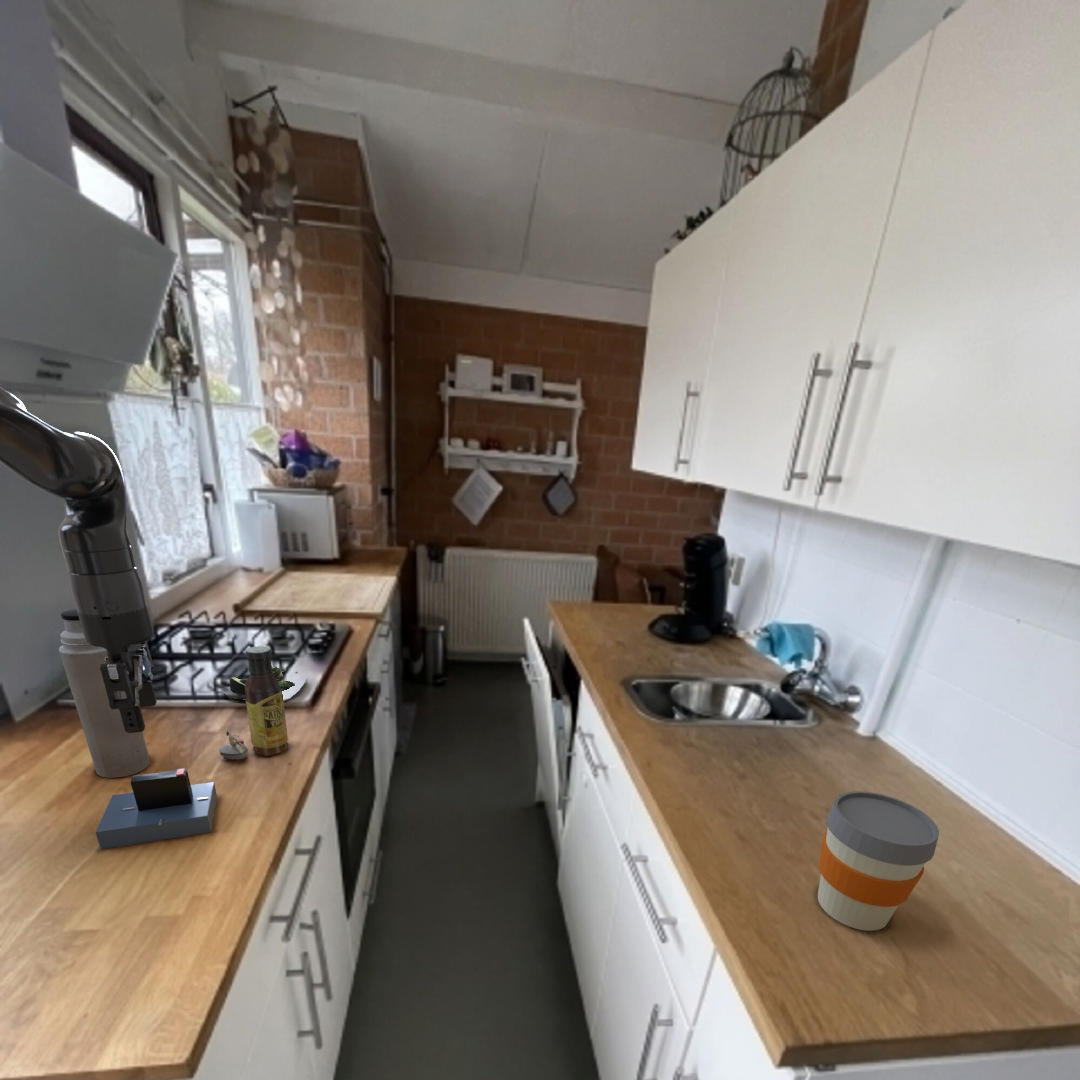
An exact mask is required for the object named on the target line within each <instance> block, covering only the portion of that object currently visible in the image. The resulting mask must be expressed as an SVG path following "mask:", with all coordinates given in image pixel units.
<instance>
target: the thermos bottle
mask: <svg viewBox="0 0 1080 1080" xmlns="http://www.w3.org/2000/svg"><path fill="white" fill-rule="evenodd" d="M60 617H61V619H62V620H63V626H64V629H65V630H63V631H62V632H61V633H60V634H59V636H60V643H61V644H62V645H61V646H59V648H58V653H59V655H60V660H61V662H62V665H63V668H64V671H65V675H66V678H67V682H68V685H69V689H70V691H71V693H72V698H73V701H74V704H75V708H76V711H77V714H78V717H79V720H80V724H81V728H82V730H83V731H82V732H83V733H84V737H85V740H86V743H87V744H86V745H87V747H88V750H89V754H90V756H91V759H92V763H93V767H94V769H95V773H96V774H97V775H98V776H99V777H102V778H108V779H114V778H116V779H117V778H124V777H129V776H131V775H136V774H137V773H140V772H142V771H143V770H145V769H146V768H147V767H148V766H149V765H150V763H151V759H150V754H149V751H148V746H147V742H146V739H145V735H144V731H142V732H136V733H127V732H126V731H125V728H124V725H123V721H122V718H121V714H120V711H119V709H111V707H110V705H109V704H110V703H109V700H108V696H107V692H106V688H105V684H104V681H103V677H102V673H101V671H100V665H101V664H105V658H106V657H108V656H107V650H106V649H105V648H102V647H96V646H92V645H90V644H89V643H87V641H86V639H85V636H84V633H83V629H82V626H81V622H80V619H79V615H78V612H77V609H76V608H74V609H73V608H72V609H68V610H65V611H61V613H60ZM116 681H117V680H116ZM123 698H127V697H126V693H125V692H124V691H122V692H121V699H123Z"/></svg>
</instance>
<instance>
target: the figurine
mask: <svg viewBox="0 0 1080 1080" xmlns="http://www.w3.org/2000/svg"><path fill="white" fill-rule="evenodd" d="M225 735H226V736H227V737H228V743H226V744H225V745H223V746H222V747H220V748H219V755H220V756H222V758H223V759H224V760H230V761H231V760H243V759H245V758H246V757H247V756H248V755H247V753H248V751H249V748H248V746H246V744H245V741H244V739H242V738H241V735H238V736H237V737H236V735H235V734H231V732H230V731H229V730H227V731H226V734H225Z"/></svg>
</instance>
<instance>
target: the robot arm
mask: <svg viewBox="0 0 1080 1080" xmlns="http://www.w3.org/2000/svg"><path fill="white" fill-rule="evenodd" d="M0 464H1V465H3V466H4V467H5V468H7V469H8V470H10V471H11V472H12V473H14V474H15V475H16V476H18V477H20V479H23V480H24V481H25V482H27V483H29V484H30V485H32V486H34V487H35V488H37V489H39V490H41V491H43V492H45V493H47V494H50V495H52V496H54V497H57V498H60V499H63V506H64V515H65V516H64V519H63V520H62V522H61V523H60V524H59V527H58V532H57V534H58V541H59V544H60V549H61V551H62V555H63V558H64V562H65V565H66V568H67V569H66V570H67V572H68V577H69V585H70V590H71V594H72V598H73V601H74V604H75V609H77V612H78V615H79V619H80V622H81V626H82V629H83V633H84V636H85V639H86V641H87V643H89V644H90V645H92V646H96V647H102V648H105V649H106V650H107V656H108V657H106V658H105V664H101V665H100V671H101V673H102V677H103V681H104V684H105V688H106V692H107V696H108V700H109V703H110V704H109V705H110V707H111V709H119V711H120V714H121V718H122V721H123V725H124V728H125V731H126V732H127V733H136V732H142V731H143V732H145V729H146V723H145V720H144V717H143V713H142V708H148V707H155V706H156V705H157V703H158V702H157V701H158V700H157V696H156V693H155V689H154V684H153V678H154V675H153V672H154V671H155V665H154V663H153V659H152V655H151V652H150V648H149V644H148V641H149V640H151V639H152V638H153V637H154V635H155V632H154V631H155V630H154V627H153V623H152V619H151V615H150V611H149V606H148V602H147V598H146V594H145V589H144V586H143V582H142V579H141V578H140V575H139V572H138V570H137V567H136V563H135V558H134V554H133V549H132V545H131V541H130V539H129V535H128V531H127V504H126V503H127V501H126V487H125V480H124V475H123V472H122V467H121V465H120V461H119V460H118V458H117V456H116V455H115V453H114V452H113V450H112V449H111V448H110V447H109V445H108V444H106V443H105V442H104V441H103V440H101V439H100V438H99V437H96V436H94V435H92V434H89V433H86V432H80V431H67V432H66V431H65V432H63V431H62V430H59V429H57V428H55V427H53V426H51V425H49V424H48V423H46V422H44V421H42V420H41V419H39V418H38V417H37V416H35V415H33V414H31V413H30V412H28V411H27V409H26V406H25V405H24V403H23V402H22V401H21V400H20V399H19V398H17V397H16V396H15V395H14V394H12V393H11V392H9V391H8V390H6V389H5V388H4V387H1V386H0ZM116 680H117V681H116ZM122 691H124V692H125V693H126V697H127V698H123V699H121V692H122Z"/></svg>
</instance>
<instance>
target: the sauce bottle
mask: <svg viewBox="0 0 1080 1080" xmlns="http://www.w3.org/2000/svg"><path fill="white" fill-rule="evenodd" d="M245 657H246V659H247V661H248V662H247V663H248V672H249V673H250V676H249V678H248V680H247V682H246V684H245V693H246V703H245V705H246V712H247V719H248V726H249V733H250V740H251V744H252V750H253V752H254V753H255V754H257V755H259V756H263V757H264V756H265V757H266V756H274V755H279V754H281V753H283V752H284V751H285V750H286V749H287V748H288V745H289V744H288V740H289V738H288V729H287V720H286V712H285V711H286V710H285V703H284V702H285V701H283V694H282V690H281V688H280V686H279V684H278V682H277V680H276V678H275V676H274V673H273V669H272V666H273V664H272V651H271V648H270V647H268V646H262V645H261V646H251V647H248V648H246V649H245Z"/></svg>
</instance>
